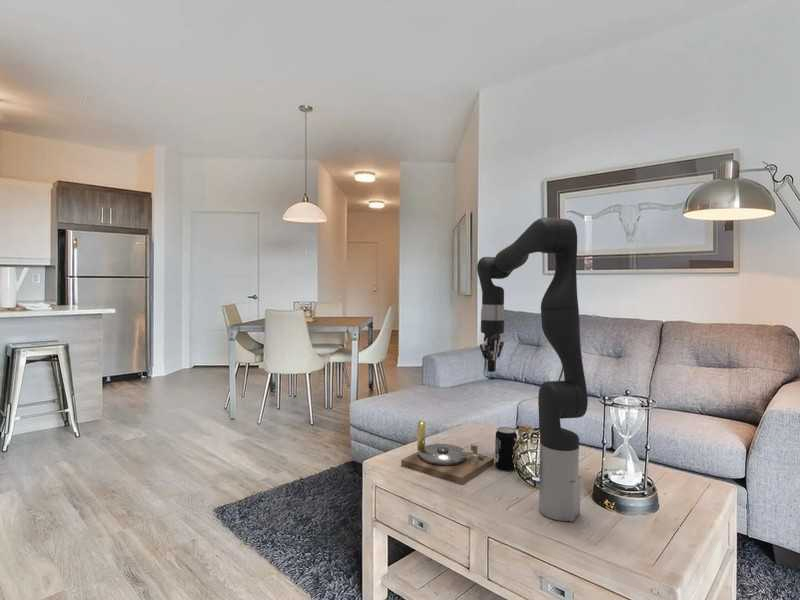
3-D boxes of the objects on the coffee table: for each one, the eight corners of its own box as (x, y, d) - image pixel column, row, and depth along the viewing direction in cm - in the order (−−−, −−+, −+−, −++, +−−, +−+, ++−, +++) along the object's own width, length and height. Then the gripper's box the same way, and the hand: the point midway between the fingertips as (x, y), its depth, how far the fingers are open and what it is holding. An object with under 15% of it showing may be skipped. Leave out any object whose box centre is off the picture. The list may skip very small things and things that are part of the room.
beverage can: (511, 473, 143) (511, 434, 143) (491, 468, 147) (492, 430, 147) (519, 466, 148) (520, 429, 148) (500, 461, 152) (501, 425, 152)
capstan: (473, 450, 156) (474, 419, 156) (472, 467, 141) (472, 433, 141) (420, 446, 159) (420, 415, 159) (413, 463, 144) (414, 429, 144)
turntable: (494, 464, 150) (494, 448, 150) (462, 484, 134) (462, 467, 134) (436, 448, 164) (436, 434, 164) (401, 465, 148) (401, 450, 148)
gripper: (494, 320, 145) (492, 376, 146) (512, 318, 156) (510, 370, 157) (472, 318, 150) (471, 373, 151) (491, 317, 161) (490, 367, 161)
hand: (491, 371), depth 154 cm, fingers closed
